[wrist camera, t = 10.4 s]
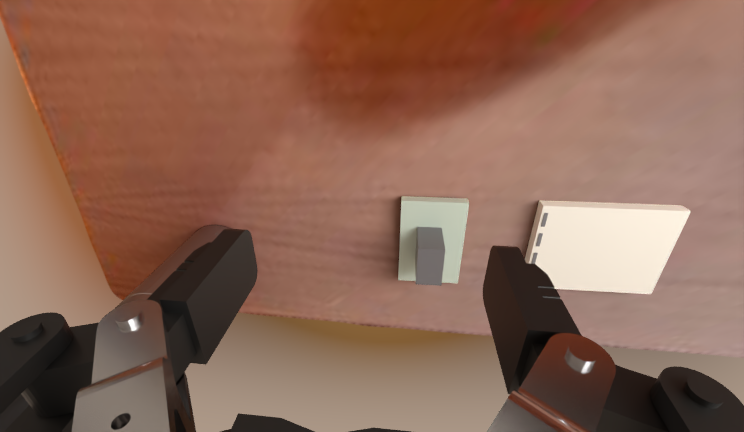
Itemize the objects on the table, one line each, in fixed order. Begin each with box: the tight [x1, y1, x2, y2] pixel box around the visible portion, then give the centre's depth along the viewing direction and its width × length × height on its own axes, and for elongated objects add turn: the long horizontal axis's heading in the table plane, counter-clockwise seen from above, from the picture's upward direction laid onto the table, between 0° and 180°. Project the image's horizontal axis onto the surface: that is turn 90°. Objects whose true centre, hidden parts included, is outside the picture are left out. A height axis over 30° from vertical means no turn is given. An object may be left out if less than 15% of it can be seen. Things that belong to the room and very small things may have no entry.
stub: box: [398, 196, 469, 286], centre depth 43 cm, size 8×12×6 cm, turn 0°
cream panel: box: [525, 200, 691, 294], centre depth 43 cm, size 16×12×2 cm
